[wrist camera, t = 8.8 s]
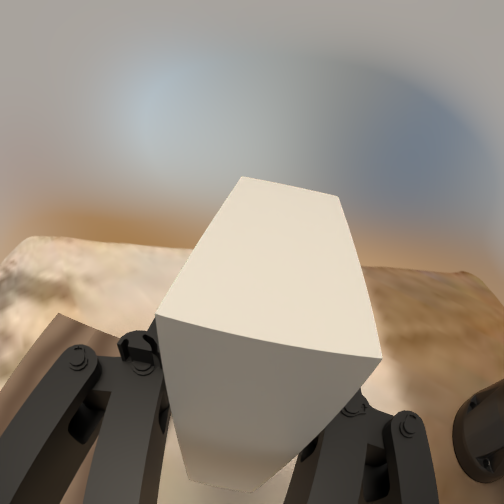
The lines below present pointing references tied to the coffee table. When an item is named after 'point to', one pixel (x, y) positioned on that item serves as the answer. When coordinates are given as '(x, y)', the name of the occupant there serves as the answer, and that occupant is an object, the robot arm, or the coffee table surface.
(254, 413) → the tall cream pillar
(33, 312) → the coffee table surface
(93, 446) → the brown slotted base plate
